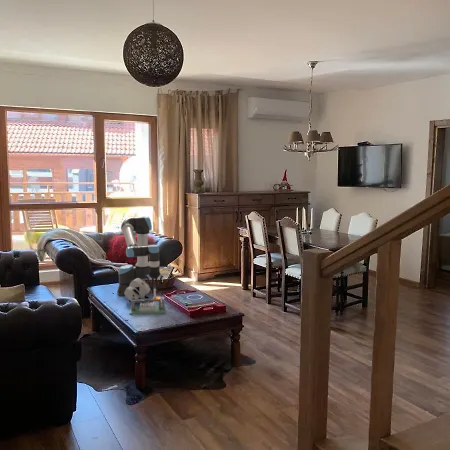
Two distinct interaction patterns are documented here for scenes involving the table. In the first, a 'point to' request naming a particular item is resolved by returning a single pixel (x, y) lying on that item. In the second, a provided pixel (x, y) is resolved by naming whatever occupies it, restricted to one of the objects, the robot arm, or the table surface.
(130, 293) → the robotic device
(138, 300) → the strap
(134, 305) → the forked tab bracket
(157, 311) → the board
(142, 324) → the table surface
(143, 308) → the heatsink
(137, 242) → the robot arm
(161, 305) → the lug
